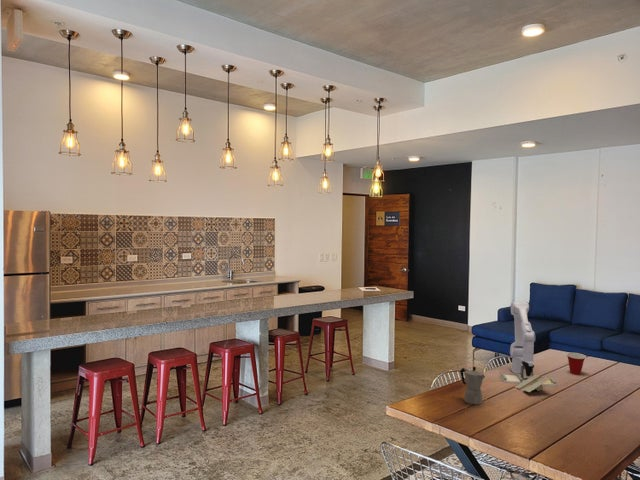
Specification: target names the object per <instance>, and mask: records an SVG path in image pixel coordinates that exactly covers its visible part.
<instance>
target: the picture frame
mask: <svg viewBox="0 0 640 480" xmlns="http://www.w3.org/2000/svg"><path fill="white" fill-rule="evenodd" d="M533 374H534V368H533V369H532V372H531V376H526V370H525V366H521V373H520V376H521V377H522V379H528V378H530V377H532V376H533Z"/></svg>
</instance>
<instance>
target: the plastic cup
mask: <svg viewBox="0 0 640 480" xmlns="http://www.w3.org/2000/svg"><path fill="white" fill-rule="evenodd" d="M566 356H567V360H568V361H567V362H568V366H569V372H570V374H572V375H577V376H579V375H581V373H582V370H583V365H584V362H585V359H586V357H587V356H586V355H585V354H582V353H579V352H567V353H566Z"/></svg>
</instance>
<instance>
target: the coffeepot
mask: <svg viewBox="0 0 640 480" xmlns="http://www.w3.org/2000/svg"><path fill="white" fill-rule="evenodd" d="M476 369H477V367H476V366H472V369H470V370H469V369H467V368H464V367H462V368H461V369H460V372H459V373H460V377H461V380H462V384H463V385H465V386H466V389H465V394H464V398H463V401H464V402H465V403H467V404H469V405H482V403H483V394H482V390H481V387H482V384H483V380H484V379H485V378H486V375H484V372H481V370H476Z"/></svg>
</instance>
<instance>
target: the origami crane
mask: <svg viewBox="0 0 640 480" xmlns="http://www.w3.org/2000/svg"><path fill="white" fill-rule="evenodd" d="M549 379H551V378H548V376H543V377H542V375H541V374H538V373H535V374H534V376H532V377H530V378H528V379H527V380H525V381H523V382H522V383H517V385H515V386H514V388H515V389H518V390H519V391H522V392H528V393H531V392H532V391H536V392H540V391H541V390H543V389H544V385H542V384H543V383H545V382H546V381H548V380H549Z"/></svg>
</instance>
